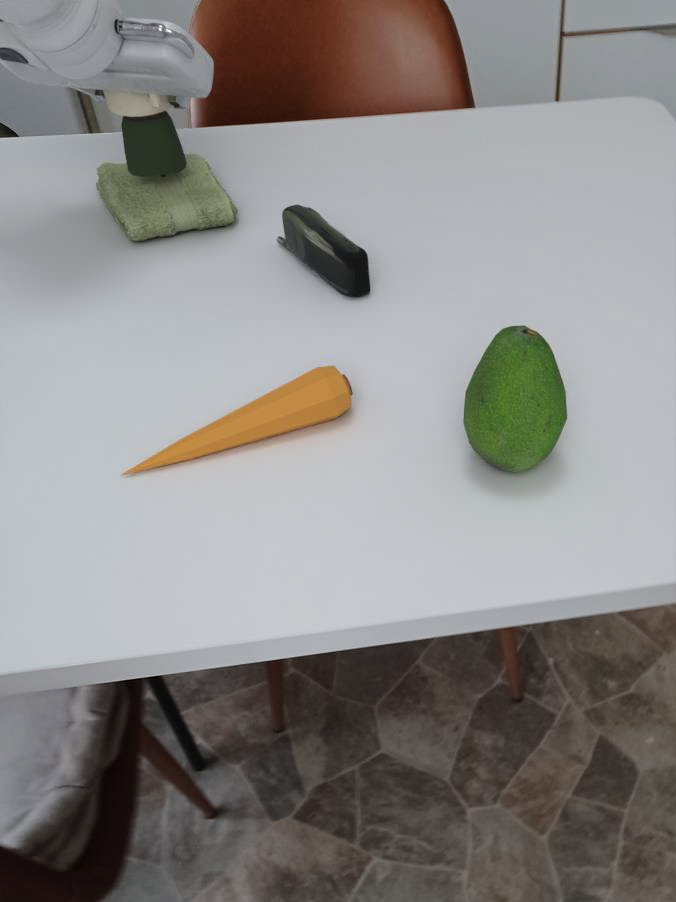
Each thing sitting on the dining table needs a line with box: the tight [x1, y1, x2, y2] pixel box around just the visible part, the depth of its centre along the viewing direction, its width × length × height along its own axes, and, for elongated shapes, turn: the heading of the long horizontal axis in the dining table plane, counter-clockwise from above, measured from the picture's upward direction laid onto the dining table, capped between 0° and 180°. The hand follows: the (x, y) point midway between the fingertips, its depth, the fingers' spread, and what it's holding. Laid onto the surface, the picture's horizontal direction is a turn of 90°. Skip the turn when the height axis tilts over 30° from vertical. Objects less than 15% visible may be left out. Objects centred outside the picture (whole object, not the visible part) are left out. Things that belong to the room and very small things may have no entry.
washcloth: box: [95, 152, 239, 242], centre depth 107 cm, size 13×18×3 cm
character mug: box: [103, 90, 187, 177], centre depth 101 cm, size 11×7×13 cm, turn 34°
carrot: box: [120, 365, 354, 476], centre depth 78 cm, size 20×4×4 cm, turn 119°
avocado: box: [462, 324, 568, 473], centre depth 73 cm, size 8×8×12 cm
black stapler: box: [276, 204, 371, 298], centre depth 97 cm, size 5×3×15 cm
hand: (144, 98), depth 100 cm, fingers closed on character mug, 7 cm apart
